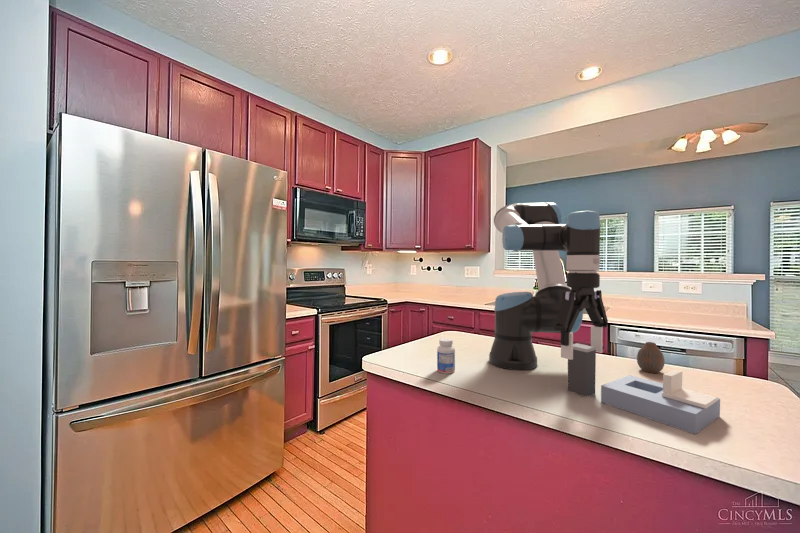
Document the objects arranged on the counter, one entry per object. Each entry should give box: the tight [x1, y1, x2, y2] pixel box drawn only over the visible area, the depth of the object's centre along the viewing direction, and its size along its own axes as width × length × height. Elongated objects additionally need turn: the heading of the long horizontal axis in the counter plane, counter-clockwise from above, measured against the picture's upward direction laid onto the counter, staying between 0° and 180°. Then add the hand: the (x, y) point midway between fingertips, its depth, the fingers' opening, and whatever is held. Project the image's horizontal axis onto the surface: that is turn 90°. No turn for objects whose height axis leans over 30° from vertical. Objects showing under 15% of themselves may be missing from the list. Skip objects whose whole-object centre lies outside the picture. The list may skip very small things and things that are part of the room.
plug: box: [567, 342, 597, 398], centre depth 89 cm, size 5×4×12 cm
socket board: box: [600, 374, 721, 435], centre depth 79 cm, size 18×14×4 cm
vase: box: [636, 341, 666, 374], centre depth 105 cm, size 7×7×9 cm
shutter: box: [662, 369, 719, 409], centre depth 74 cm, size 8×7×5 cm
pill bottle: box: [436, 337, 456, 375], centre depth 105 cm, size 6×5×10 cm
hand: (582, 354), depth 88 cm, fingers open, 13 cm apart
